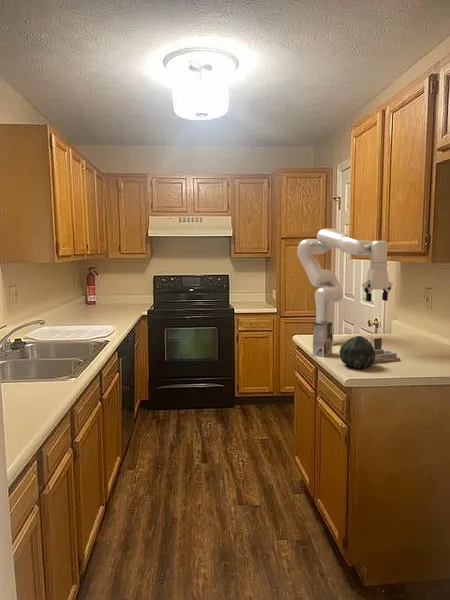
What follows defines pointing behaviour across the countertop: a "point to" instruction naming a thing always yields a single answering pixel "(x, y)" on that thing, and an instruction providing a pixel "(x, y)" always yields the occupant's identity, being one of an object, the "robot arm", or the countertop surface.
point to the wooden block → (375, 342)
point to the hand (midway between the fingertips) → (376, 300)
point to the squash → (357, 352)
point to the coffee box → (322, 338)
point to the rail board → (385, 356)
